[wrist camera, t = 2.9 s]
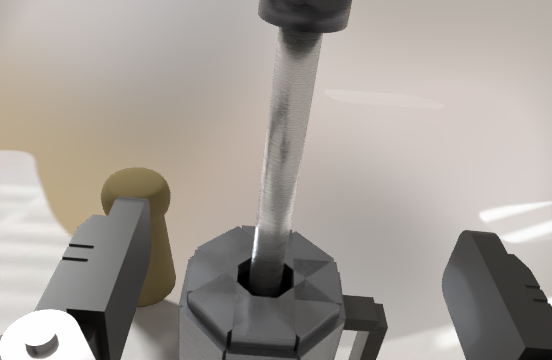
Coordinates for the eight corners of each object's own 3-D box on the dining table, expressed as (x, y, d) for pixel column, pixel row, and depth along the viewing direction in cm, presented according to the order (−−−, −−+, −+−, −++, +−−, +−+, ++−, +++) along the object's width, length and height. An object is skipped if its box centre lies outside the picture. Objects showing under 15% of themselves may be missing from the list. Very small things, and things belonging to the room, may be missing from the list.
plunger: (199, 370, 28) (216, -21, 16) (212, 285, 33) (232, -55, 21) (312, 378, 28) (410, 3, 16) (307, 293, 34) (378, -37, 22)
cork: (188, 270, 46) (190, 170, 39) (151, 317, 41) (146, 212, 35) (132, 248, 47) (125, 149, 41) (90, 291, 42) (75, 186, 36)
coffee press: (169, 469, 31) (166, 337, 24) (190, 344, 39) (194, 216, 32) (359, 481, 32) (413, 356, 25) (343, 356, 40) (381, 233, 32)
